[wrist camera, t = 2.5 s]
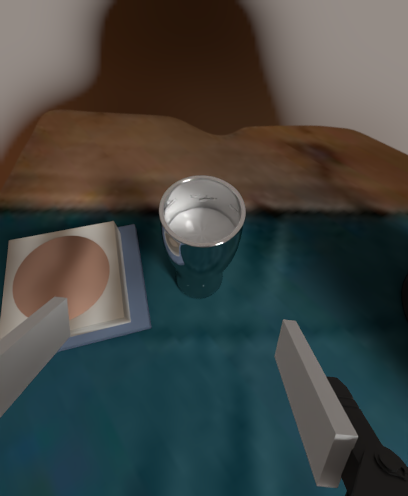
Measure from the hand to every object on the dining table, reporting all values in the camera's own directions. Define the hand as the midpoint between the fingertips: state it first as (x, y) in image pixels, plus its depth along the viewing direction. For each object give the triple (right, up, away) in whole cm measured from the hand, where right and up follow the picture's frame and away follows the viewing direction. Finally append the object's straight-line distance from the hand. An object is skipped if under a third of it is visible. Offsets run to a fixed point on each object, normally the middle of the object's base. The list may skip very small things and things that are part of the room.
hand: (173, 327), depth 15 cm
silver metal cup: (+1, +1, +17) cm, 17 cm away
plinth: (-14, 0, +14) cm, 20 cm away
